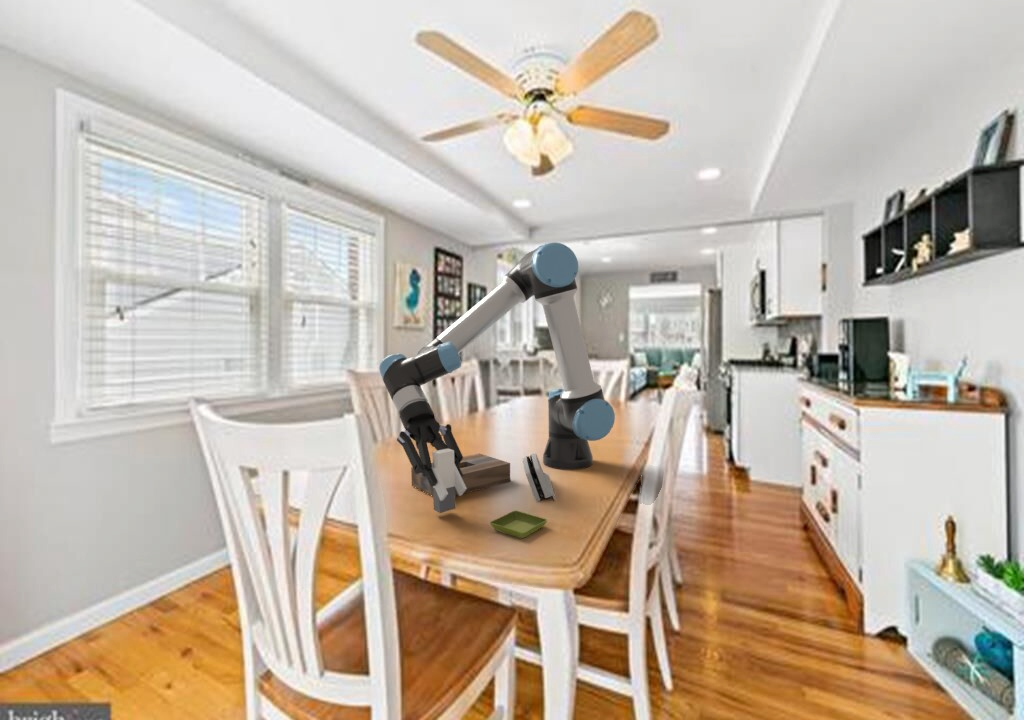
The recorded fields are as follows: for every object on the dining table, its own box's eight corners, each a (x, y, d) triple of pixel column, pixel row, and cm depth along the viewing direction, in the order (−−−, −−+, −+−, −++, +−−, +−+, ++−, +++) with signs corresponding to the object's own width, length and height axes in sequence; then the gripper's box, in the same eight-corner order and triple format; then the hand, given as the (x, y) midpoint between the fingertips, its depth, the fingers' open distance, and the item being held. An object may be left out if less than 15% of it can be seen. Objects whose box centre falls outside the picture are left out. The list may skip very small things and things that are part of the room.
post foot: (411, 486, 125) (411, 467, 125) (479, 470, 140) (479, 453, 139) (440, 499, 115) (439, 479, 114) (510, 481, 129) (510, 463, 129)
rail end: (433, 509, 105) (432, 451, 104) (449, 505, 108) (447, 448, 107) (439, 513, 103) (438, 453, 102) (455, 508, 106) (454, 450, 105)
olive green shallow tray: (548, 529, 98) (548, 519, 98) (523, 543, 91) (523, 533, 91) (515, 519, 104) (515, 509, 103) (488, 532, 97) (488, 522, 97)
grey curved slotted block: (556, 501, 114) (542, 462, 113) (537, 508, 114) (523, 469, 113) (550, 479, 130) (537, 445, 130) (533, 485, 130) (521, 451, 130)
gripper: (439, 414, 122) (479, 494, 110) (375, 423, 111) (412, 513, 99) (450, 395, 117) (492, 477, 106) (384, 403, 106) (424, 494, 95)
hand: (453, 494), depth 102 cm, fingers closed on rail end, 4 cm apart
